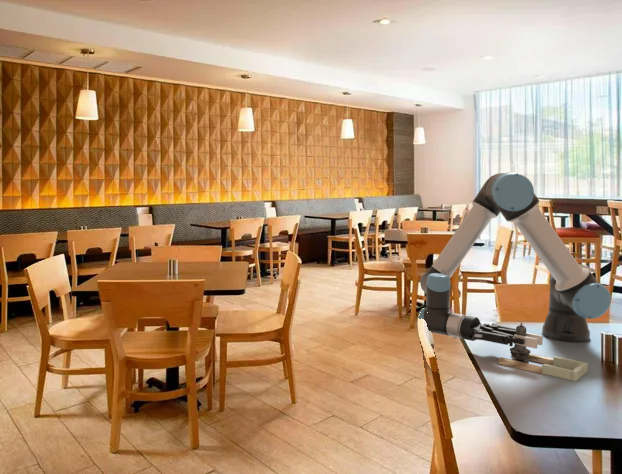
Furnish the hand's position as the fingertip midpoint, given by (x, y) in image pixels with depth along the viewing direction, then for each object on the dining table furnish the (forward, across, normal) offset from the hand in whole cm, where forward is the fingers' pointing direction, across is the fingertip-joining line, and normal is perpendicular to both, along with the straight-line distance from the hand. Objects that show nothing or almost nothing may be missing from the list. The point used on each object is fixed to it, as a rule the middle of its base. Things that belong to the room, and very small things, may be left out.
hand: (539, 342), depth 159 cm
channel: (-3, 0, -7) cm, 8 cm away
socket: (+7, 0, -7) cm, 10 cm away
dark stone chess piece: (-5, 0, -7) cm, 9 cm away
